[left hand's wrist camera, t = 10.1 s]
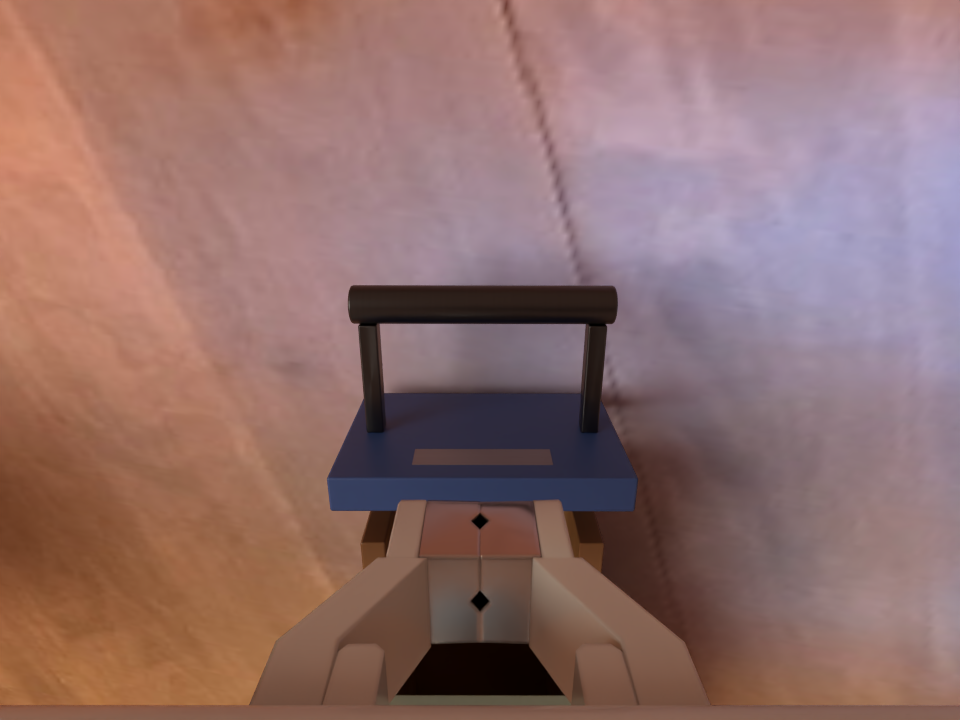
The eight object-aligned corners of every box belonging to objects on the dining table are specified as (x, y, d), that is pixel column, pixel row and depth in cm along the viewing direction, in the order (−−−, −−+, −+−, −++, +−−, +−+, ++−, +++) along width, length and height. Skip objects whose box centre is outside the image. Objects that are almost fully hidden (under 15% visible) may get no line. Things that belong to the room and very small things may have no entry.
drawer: (356, 266, 21) (307, 313, 15) (609, 266, 21) (658, 314, 15) (391, 713, 29) (369, 854, 23) (571, 713, 29) (593, 855, 23)
